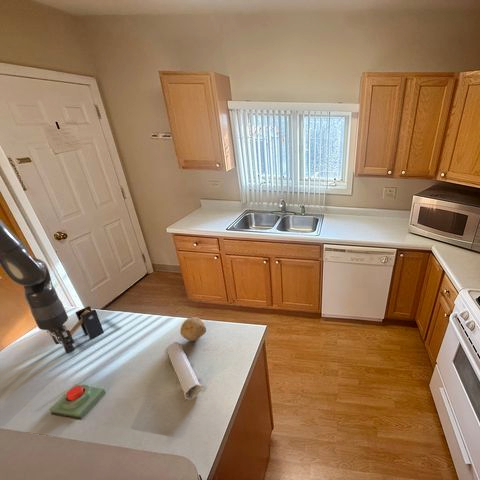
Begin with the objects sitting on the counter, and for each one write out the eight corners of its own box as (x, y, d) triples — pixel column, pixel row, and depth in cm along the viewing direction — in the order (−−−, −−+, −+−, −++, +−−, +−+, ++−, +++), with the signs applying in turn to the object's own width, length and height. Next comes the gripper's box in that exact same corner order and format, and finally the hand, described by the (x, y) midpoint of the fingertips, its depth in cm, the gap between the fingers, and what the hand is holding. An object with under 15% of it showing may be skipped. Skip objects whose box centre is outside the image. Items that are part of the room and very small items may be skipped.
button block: (51, 413, 75) (46, 404, 74) (78, 388, 83) (74, 380, 81) (81, 419, 74) (77, 410, 73) (106, 393, 82) (102, 384, 80)
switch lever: (68, 347, 94) (58, 345, 91) (63, 343, 95) (54, 341, 93) (96, 314, 100) (87, 311, 97) (91, 311, 101) (83, 308, 98)
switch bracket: (83, 351, 96) (72, 325, 91) (70, 341, 100) (59, 315, 95) (118, 331, 106) (110, 306, 101) (105, 323, 110) (96, 298, 105)
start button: (64, 400, 76) (62, 396, 75) (76, 388, 79) (74, 385, 78) (75, 401, 75) (73, 398, 75) (87, 390, 79) (85, 386, 78)
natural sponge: (178, 338, 104) (174, 318, 100) (200, 327, 110) (196, 308, 106) (187, 350, 99) (183, 330, 95) (209, 338, 105) (206, 319, 101)
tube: (161, 346, 95) (181, 395, 78) (175, 336, 98) (197, 381, 81) (169, 353, 98) (189, 402, 81) (182, 344, 101) (205, 389, 84)
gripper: (25, 311, 88) (43, 346, 94) (43, 326, 82) (61, 362, 89) (54, 300, 94) (68, 333, 101) (73, 313, 88) (87, 347, 95)
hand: (65, 347), depth 95 cm, fingers open, 8 cm apart
